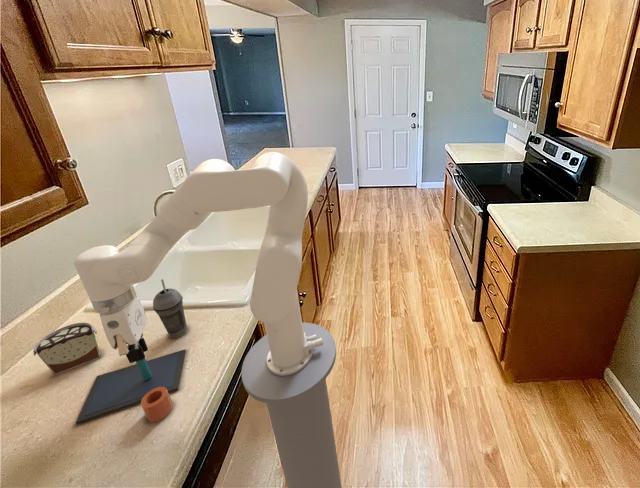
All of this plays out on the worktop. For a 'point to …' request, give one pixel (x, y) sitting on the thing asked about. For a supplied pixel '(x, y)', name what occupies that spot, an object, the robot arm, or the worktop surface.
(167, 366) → the tablet
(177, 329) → the beverage cup
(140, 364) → the stylus
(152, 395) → the holder
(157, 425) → the worktop surface
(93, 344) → the food container
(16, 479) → the worktop surface
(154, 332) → the worktop surface
